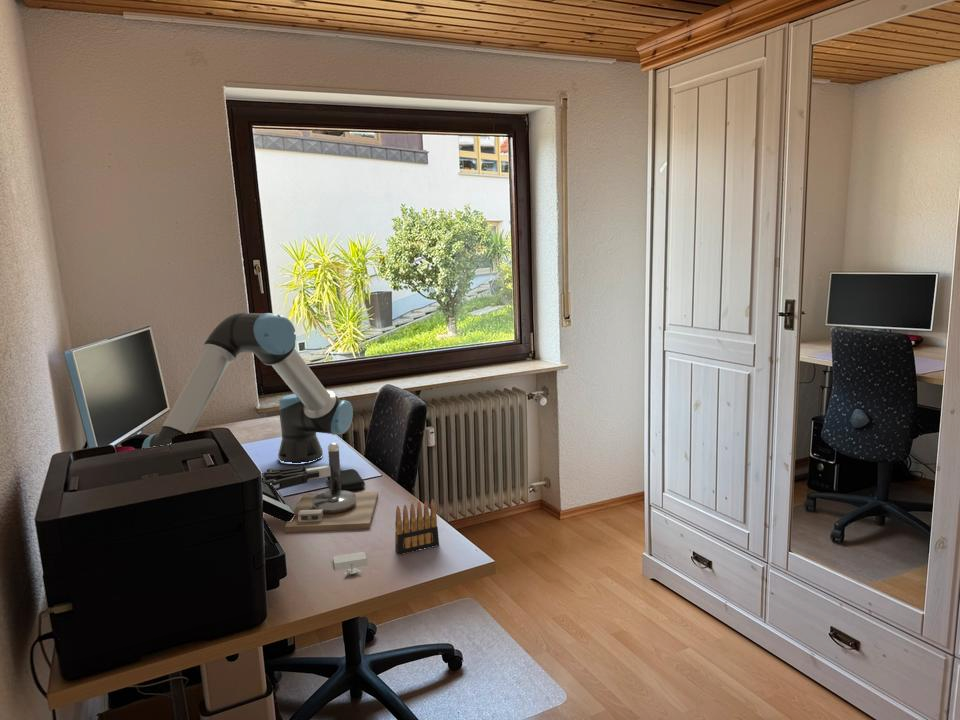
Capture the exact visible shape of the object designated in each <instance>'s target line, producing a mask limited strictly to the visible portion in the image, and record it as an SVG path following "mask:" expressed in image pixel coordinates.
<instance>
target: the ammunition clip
mask: <svg viewBox="0 0 960 720" xmlns="http://www.w3.org/2000/svg"><path fill="white" fill-rule="evenodd" d="M402 508H403V509H402V513H401V509H400V506H399V505H397V506H396V510H395V523H394V524H395V536H394V539H395V540H394V541H395V543H394V544H395V548H394V549H395V550H394V551H395V554H396V553H397V554H396V555H397V556H400V555H399V554H401V555H404V554H403V553H406V554H408V553H407V552H410V553H413V552H412V551H415V552H417V551H416V550H419V549H423V550H425V549H424V548H428V547H432V546H436V545H439V546H440V538H439V528H438V519H437V511H436V510H437V509H436V503H435V501H434V498H432V499H431V503H430V508H429V503H428V501H427V500H425V501H424V504H423V508H422V505H421V502H420V501H418V502H417V505H416V508H415V505H414V503H413V502H411V504H410V507H409V509H410V510H409V511H408V508H407V505H406V504H404V505H403V507H402ZM415 509H416V510H415ZM432 548H433V547H432ZM428 549H429V548H428ZM419 551H420V550H419Z"/></svg>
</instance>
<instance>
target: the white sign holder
mask: <svg viewBox="0 0 960 720" xmlns="http://www.w3.org/2000/svg"><path fill="white" fill-rule="evenodd" d="M366 554H367V553H366V551H360V552H359V551H358V552H351V553H344V554H339V555H334V556H333V557H332V559H333V560H332V561H333V565H334V571H335V572H336V571H342V570H346V571H345V572H344V573H343V574H344V575H345V576H347V574H348V576H349V577H351V575H355V576H357V572H358V573H361V572H362V570H361V569H359V568H361V567H368V566H369V565H368V559H367V555H366Z"/></svg>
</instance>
